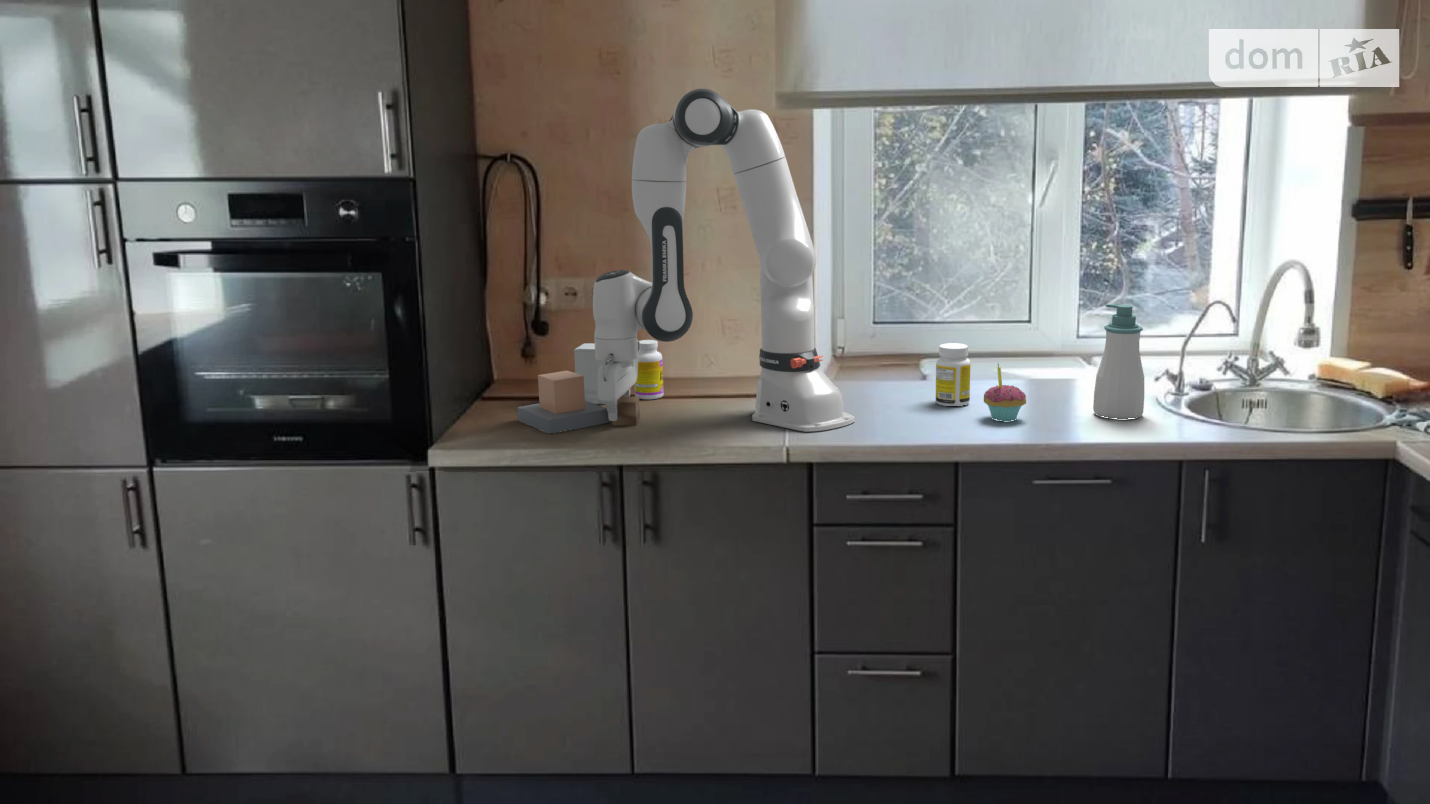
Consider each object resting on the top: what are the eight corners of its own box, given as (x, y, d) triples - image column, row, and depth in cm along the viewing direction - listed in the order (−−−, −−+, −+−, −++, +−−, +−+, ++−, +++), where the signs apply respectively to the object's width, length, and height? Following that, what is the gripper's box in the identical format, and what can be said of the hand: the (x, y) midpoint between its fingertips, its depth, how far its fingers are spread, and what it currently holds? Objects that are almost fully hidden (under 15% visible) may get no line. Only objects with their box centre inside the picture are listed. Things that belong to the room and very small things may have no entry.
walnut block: (639, 419, 242) (639, 396, 241) (636, 425, 237) (635, 402, 236) (616, 419, 242) (615, 396, 241) (612, 425, 238) (611, 402, 236)
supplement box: (607, 404, 255) (604, 349, 252) (575, 404, 256) (572, 348, 253) (616, 397, 262) (614, 342, 259) (585, 396, 263) (583, 342, 260)
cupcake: (1001, 426, 230) (1004, 368, 227) (973, 417, 237) (975, 361, 234) (1034, 420, 233) (1036, 363, 230) (1005, 412, 241) (1008, 356, 238)
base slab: (608, 422, 239) (608, 408, 239) (549, 434, 231) (548, 419, 231) (576, 410, 250) (575, 396, 250) (518, 420, 243) (517, 407, 242)
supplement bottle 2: (964, 399, 253) (966, 342, 250) (973, 406, 246) (975, 348, 243) (931, 400, 252) (932, 343, 249) (939, 408, 245) (941, 349, 242)
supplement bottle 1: (665, 399, 258) (663, 343, 255) (636, 401, 257) (633, 345, 254) (662, 392, 265) (660, 338, 262) (633, 394, 264) (631, 339, 261)
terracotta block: (585, 408, 239) (583, 375, 238) (555, 413, 236) (553, 380, 234) (569, 402, 245) (567, 370, 243) (539, 407, 241) (537, 375, 239)
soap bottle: (1106, 407, 243) (1113, 300, 237) (1151, 414, 236) (1159, 305, 231) (1084, 416, 236) (1090, 306, 231) (1129, 424, 229) (1136, 311, 224)
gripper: (619, 360, 226) (621, 427, 229) (642, 340, 245) (644, 403, 248) (588, 359, 227) (591, 427, 230) (613, 340, 246) (616, 402, 249)
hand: (619, 414), depth 239 cm, fingers open, 8 cm apart
